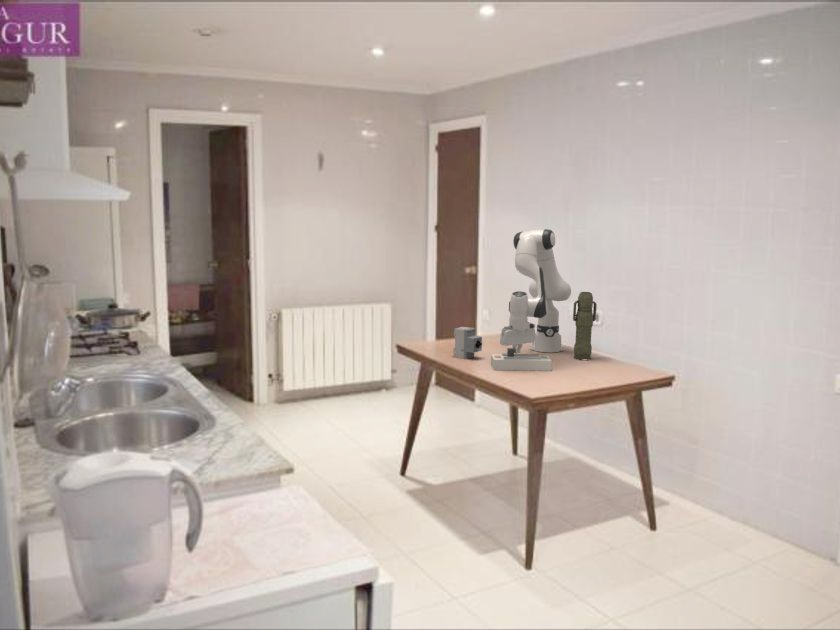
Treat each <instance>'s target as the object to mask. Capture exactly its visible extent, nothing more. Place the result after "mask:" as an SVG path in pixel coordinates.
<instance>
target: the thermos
mask: <svg viewBox="0 0 840 630" xmlns="http://www.w3.org/2000/svg"><path fill="white" fill-rule="evenodd" d="M572 320H573V321H574V322H575V343H574V345H573V359H574V358H575V359H574V360H577V359H590V360H591V359H592V357H591V356H592V349H593V346H592V331H593V330H592V329H593V326H594V322H595V321H596V320H597V303H596V301H594V296H593V293H591V291H581V292H579V295H578V297H577V300H575V301H574V303H573V309H572Z"/></svg>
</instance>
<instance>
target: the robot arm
mask: <svg viewBox="0 0 840 630" xmlns="http://www.w3.org/2000/svg"><path fill="white" fill-rule="evenodd" d="M512 243H513V247H514V249H515V256H514V257H515V258H514V267H515V269H516V270H517V272H518V273H520V274H521V275H523V276H525V277H526V278H530V279H532V281H531V282H530V284H529V286H528V291H529V294H530V296H531V297H529V296H528V293H527V292H525V291H520V290H518V291H514V292H512V293H511V296H510V300H509V302H508V312H509V314H510V315H509V318H508V319H509V320H508V326H504V327H502V329H501V333H500V339H499V343H500V345H501V346H503V347H506V346H512V348H514V354H521V350H522V347H523V346H524V345H525V344H530V347H529V350H530V351H535V352H541V353H559V352H563V351H565V349H564V347H562V335H561V334H560V333H559V332H560V325H559V320H560V319H559V318H560V317H559V316H560V312H559V310H558V308H556V306H554V303H553V302H563V301H567V300H569V298H570V296H571V295H572V288H571V286H570V284H569V283H567V281H565V280H564V278H563V277H562V276H561V274H560V272H559V270H558V268H557V265H556V260H555V253H554V250H553V248H554V246H555V245H556V236H555V233H554V231H553V230H551V229H548V228H546V229H531V230H525V231H519V232H517V233H515V235H514V237H513V242H512ZM530 317H531V318H535V319H536V318H537V319H538V320H537V325H536V324H535V323H532V322H529V321H528V320H529V319H528V318H530ZM535 328H536V329H535ZM523 344H524V345H523Z"/></svg>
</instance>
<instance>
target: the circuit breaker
mask: <svg viewBox="0 0 840 630" xmlns="http://www.w3.org/2000/svg"><path fill="white" fill-rule="evenodd" d="M453 330H454V331H453V337H454V347H453V349H452V350H453V356H452V357H453V358H459V359H465V360H467V359H470V358H474V357H475V353H478V352H482V348H483V347H482V346H483V343H482V342H483V336H482V335H476V328H475V327H467V326H461V327H456V328H454V329H453Z"/></svg>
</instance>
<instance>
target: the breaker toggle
mask: <svg viewBox="0 0 840 630" xmlns="http://www.w3.org/2000/svg"><path fill="white" fill-rule="evenodd" d="M506 354H507V356H508V357H514V354H515V353H514V348H513V347H507V349H506Z"/></svg>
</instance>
